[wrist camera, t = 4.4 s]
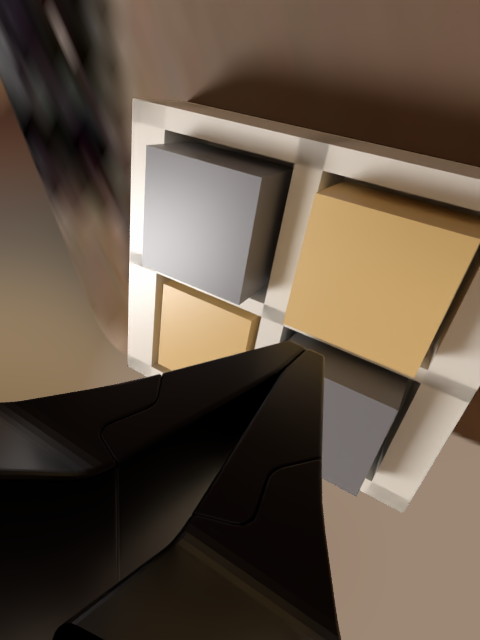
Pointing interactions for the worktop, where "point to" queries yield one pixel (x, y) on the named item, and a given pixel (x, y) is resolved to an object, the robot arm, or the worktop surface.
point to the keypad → (271, 301)
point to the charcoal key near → (213, 217)
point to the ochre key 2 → (379, 272)
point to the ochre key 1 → (201, 327)
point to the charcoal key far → (353, 412)
